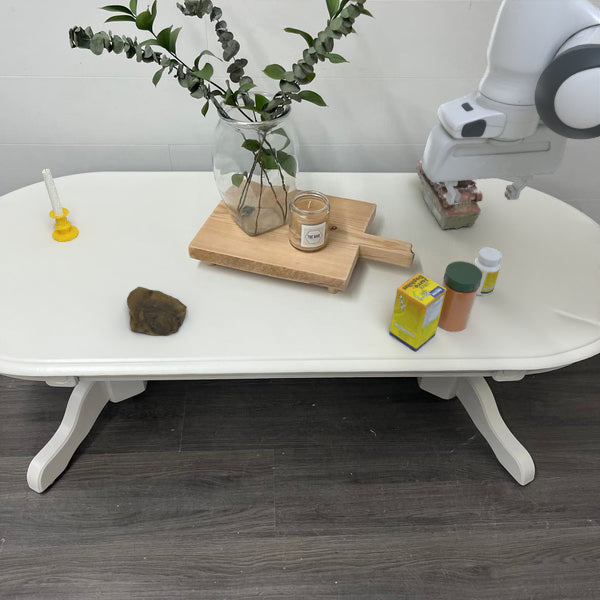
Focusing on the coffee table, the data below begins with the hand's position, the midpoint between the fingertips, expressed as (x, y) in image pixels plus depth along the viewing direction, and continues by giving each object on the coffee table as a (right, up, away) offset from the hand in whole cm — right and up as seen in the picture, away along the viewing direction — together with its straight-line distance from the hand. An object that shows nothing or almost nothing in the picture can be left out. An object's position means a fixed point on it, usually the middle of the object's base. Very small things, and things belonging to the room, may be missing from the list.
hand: (481, 200), depth 87 cm
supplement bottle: (+7, -13, +23) cm, 28 cm away
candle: (-77, -2, +33) cm, 83 cm away
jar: (0, -19, +17) cm, 25 cm away
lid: (0, -11, +9) cm, 14 cm away
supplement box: (-8, -21, +14) cm, 27 cm away
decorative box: (+3, +6, +44) cm, 44 cm away
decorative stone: (-53, -18, +15) cm, 58 cm away
